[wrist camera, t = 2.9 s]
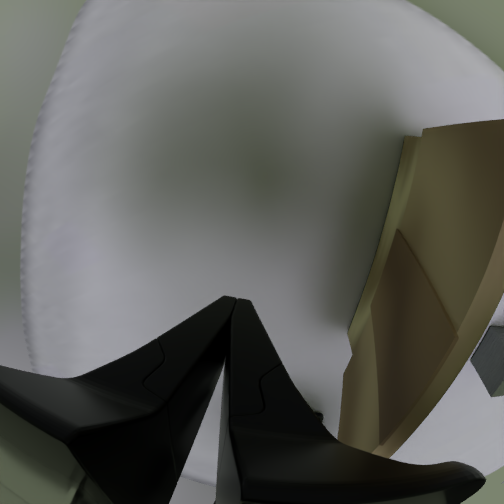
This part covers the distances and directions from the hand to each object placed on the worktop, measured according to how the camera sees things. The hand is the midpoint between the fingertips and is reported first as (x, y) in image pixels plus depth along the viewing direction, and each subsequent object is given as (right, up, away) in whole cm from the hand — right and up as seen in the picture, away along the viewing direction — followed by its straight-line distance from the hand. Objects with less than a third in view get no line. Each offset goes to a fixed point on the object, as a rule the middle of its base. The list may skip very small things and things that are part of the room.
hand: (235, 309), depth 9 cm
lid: (+7, -1, +1) cm, 7 cm away
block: (+23, -7, +11) cm, 26 cm away
